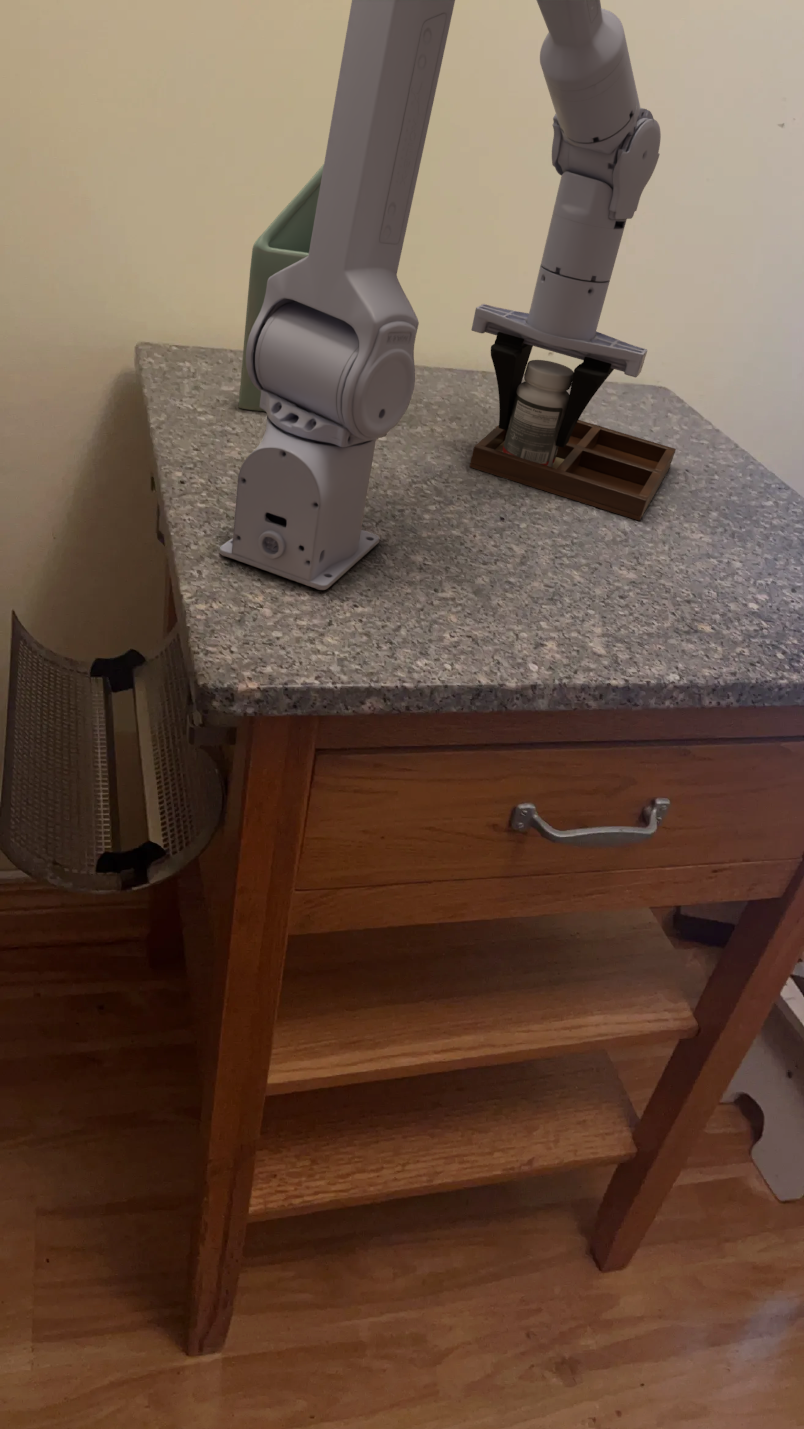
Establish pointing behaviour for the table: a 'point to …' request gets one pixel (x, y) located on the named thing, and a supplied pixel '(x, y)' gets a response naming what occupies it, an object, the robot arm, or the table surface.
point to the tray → (586, 468)
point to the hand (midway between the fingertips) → (533, 435)
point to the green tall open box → (277, 265)
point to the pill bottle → (538, 412)
